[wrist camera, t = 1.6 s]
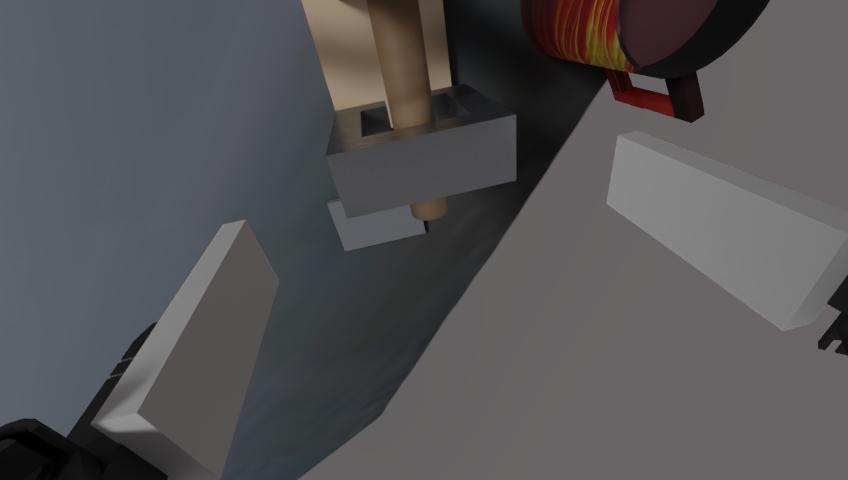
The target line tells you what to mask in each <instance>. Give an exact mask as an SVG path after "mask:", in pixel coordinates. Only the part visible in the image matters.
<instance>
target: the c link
mask: <svg viewBox="0 0 848 480" xmlns="http://www.w3.org/2000/svg"><path fill="white" fill-rule="evenodd" d="M431 94H432V101H433V109H434V116H435V121H434V122H430V123H425V124H420V125H416V126H411V127H407V128H402V129H397V130H393V131H392V129H391V125H390V120H389V115H388V111H387V106H386V103H385V100H384V101H380V102H375V103H370V104H365V105H361V106H356V107H351V108H347V109H342V110H337V111H336V112H335V116H334V121H333V125H332V129H331V134H330V138H329V143H328V147H327V151H326V159H327V162H328V165H329V168H330V171H331V174H332V177H333V179H334V182H335V185H336V188H337V191H338V194H339V197H340V199H341V202H342V205H343V208H344V211H345V214H346V217H347V219H349V218H353V217H358V216H362V215H367V214H371V213H375V212H380V211H384V210H388V209H393V208H397V207H402V206H406V205H410V204H415V203H419V202H424V201H428V200H432V199H437V198H441V197H445V196H450V195H454V194H459V193H463V192H467V191H472V190H476V189H481V188H485V187H489V186H494V185H498V184H502V183H507V182H511V181H516V114H515V113H513V112H511V111H510V110H508V109H506V108H505V107H503V106H501V105H500V104H498V103H496V102H495V101H493V100H491V99H490V98H488V97H486V96H485V95H483V94H481V93H480V92H478V91H476V90H475V89H473V88H471V87H470V86H468V85H466V84H465V83H464V84H460V85H455V86H450V87H445V88H441V89H436V90H431Z"/></svg>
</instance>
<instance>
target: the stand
mask: <svg viewBox="0 0 848 480" xmlns="http://www.w3.org/2000/svg"><path fill="white" fill-rule="evenodd" d="M302 3H303V7H304V10H305V13H306V17H307V20H308V23H309V26H310V30H311V33H312V36H313V39H314V43H315V46H316V49H317V53H318V56H319V59H320V62H321V66H322V69H323V72H324V75H325V79H326V82H327V85H328V89H329V92H330V95H331V98H332V102H333V105H334V108H335V111H337V110H342V109H347V108H351V107H356V106H361V105H365V104H370V103H375V102H380V101H384V100H385V103H386V106H387V111H388V115H389V120H390V125H391V128H394V130H397V129H402V128H407V127H411V126H416V125H420V124H425V123H430V122H434V121H435V116H434V109H433V101H432V94H431V90H436V89H441V88H445V87H450V86H452V84H451V75H450V65H449V56H448V46H447V37H446V27H445V18H444V9H443V0H302ZM410 207H411V212H412V216H413V217H414V218H415V219H418V220H423V221H427V220H434V219H437V218H439V217H441V216H443V215H444V214H445V213H446V212H447V201H446V196H445V197H441V198H437V199H432V200H428V201H424V202H419V203H415V204H410Z"/></svg>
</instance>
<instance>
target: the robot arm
mask: <svg viewBox="0 0 848 480" xmlns="http://www.w3.org/2000/svg"><path fill="white" fill-rule="evenodd" d="M607 204H608V205H609V206H610V207H612V208H613V209H615V210H616V211H617V212H619V213H620V214H622V215H623V216H624V217H626V218H627V219H628V220H630V221H631V222H633V223H634V224H636V225H637V226H638V227H640V228H641V229H643V230H644V231H645V232H646V233H648V234H649V235H651V236H652V237H653V238H655V239H656V240H658V241H659V242H660V243H662V244H663V245H665V246H666V247H667V248H669V249H670V250H671V251H673V252H674V253H676V254H677V255H678V256H680V257H681V258H683V259H684V260H685V261H687V262H688V263H689V264H691V265H692V266H694V267H695V268H696V269H698V270H699V271H701V272H702V273H703V274H705V275H706V276H707V277H709V278H710V279H712V280H713V281H715V282H716V283H717V284H718V285H720V286H721V287H723V288H724V289H726V290H727V291H728V292H730V293H731V294H733V295H734V296H735V297H737V298H738V299H739V300H741V301H742V302H744V303H745V304H746V305H748V306H749V307H750V308H752V309H753V310H754V311H756V312H757V313H759V314H760V315H761V316H763V317H764V318H766V319H767V320H768V321H770V322H771V323H773V324H774V325H775V326H777V327H778V328H779V329H781V330H782V331H786V330H789V329H793V328H797V327H800V326H805V325H808V324H812V323H814V321H815V320H816V319H817V317H818V316H819V315H820V313H821V312H822V311H823V309H824V308H825V307H826V305H827V304H829V305H831V306H832V307H834V308H835V309H837V310H839V311H840V312H841V314H840V315H839V316H838V317H837V319H836V320H835V321H834V323H833V324H832V325H831V326H830V327H829V329H828V330H827V331H826V333H825V334H824V335H823V336H822V338H821V339H820V340H819V341H818V349H823V350H825V349H826V348H827V347H828V346H829V345H830V343H831V342H832V341H833V340H841V341H842V343H841V344H840V345H839V346H838V348H837V349H836V350H835V352H836V353H840V354H844V355H848V211H847V210H845V209H842V208H839V207H837V206H835V205H832V204H829V203H827V202H824V201H821V200H819V199H816V198H814V197H811V196H808V195H806V194H803V193H800V192H798V191H795V190H792V189H790V188H787V187H785V186H782V185H780V184H777V183H774V182H772V181H769V180H766V179H764V178H761V177H758V176H756V175H753V174H751V173H748V172H745V171H743V170H740V169H737V168H735V167H732V166H730V165H727V164H725V163H722V162H719V161H717V160H714V159H711V158H709V157H706V156H704V155H701V154H698V153H696V152H693V151H690V150H688V149H685V148H682V147H680V146H677V145H674V144H672V143H669V142H667V141H664V140H661V139H659V138H656V137H654V136H651V135H648V134H646V133H643V132H641V131H635V132H630V133H626V134H621V135H618V138H617V144H616V150H615V156H614V162H613V168H612V174H611V180H610V186H609V191H608V198H607ZM278 284H279V279H278V277H277V275H276V274H275V272H274V270H273V268H272V266H271V265H270V263H269V261H268V259H267V257H266V256H265V254H264V252H263V250H262V248H261V246H260V245H259V243H258V241H257V239H256V237H255V236H254V234H253V232H252V230H251V228H250V226H249V225H248V223H247V221H246V220H241V221H237V222H233V223H228V224H224V225H222V226H221V228H220V229H219V231H218V233H217V234H216V236H215V237H214V239H213V240H212V242H211V243H210V245H209V246H208V248H207V249H206V251H205V252H204V254H203V255H202V257H201V258H200V260H199V261H198V263H197V264H196V266H195V267H194V269H193V270H192V272H191V273H190V275H189V276H188V278H187V279H186V281H185V282H184V284H183V285H182V287H181V288H180V290H179V291H178V293H177V294H176V296H175V297H174V299H173V300H172V302H171V303H170V305H169V306H168V308H167V309H166V311H165V312H164V314H163V315H162V317H161V318H160V320H159V321H158V322H156V323H153V324H152V325H151V326H150V327H148V328H147V329H146V330H145V331H144V332H143V333H142V334H141V335H140V336H139V337H138V338H137V339H136V340H134V342H133V343H132V344H131V346H130V347H129V349H128V350H127V352H126V353H125V354H124V356H123V357H122V359H121V360H122V362H121V363H118V364H117V366H116V367H115V369H114V370H113V372H112V373H111V374H110V377H111V378H110V379H107V380H106V382H105V383H104V384H103V386H102V387H101V389H100V390H99V392H98V393H97V394H96V396H95V397H94V399H93V400H92V402H91V403H90V404H89V406H88V407H87V409H86V410H85V412H84V413H83V414H82V416H81V417H80V419H79V420H78V422H77V423H76V424H75V426H74V427H73V429H72V430H71V432H70V433H69V434H68V436H67V437H66V438H65V437H64V436H62V435H61V434H59V433H57V432H56V431H54V430H52V429H51V428H49V427H48V426H46V425H44V424H43V423H41V422H39V421H38V420H36V419H21V420H17V421H14V422H11V423H8V424H5V425H4V426H2V427H0V480H167V478H169V479H171V480H219V479H220V478H221V475H222V472H223V468H224V465H225V462H226V458H227V455H228V452H229V448H230V445H231V442H232V438H233V435H234V432H235V428H236V425H237V421H238V418H239V415H240V411H241V408H242V405H243V401H244V398H245V395H246V391H247V388H248V385H249V381H250V378H251V375H252V371H253V368H254V365H255V361H256V358H257V355H258V351H259V348H260V344H261V341H262V338H263V334H264V331H265V328H266V324H267V321H268V318H269V314H270V311H271V308H272V304H273V301H274V298H275V294H276V291H277V288H278Z"/></svg>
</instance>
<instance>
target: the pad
mask: <svg viewBox="0 0 848 480" xmlns="http://www.w3.org/2000/svg"><path fill="white" fill-rule="evenodd" d="M327 205H328V207H329V210H330V212H331V215H332V218H333V220H334V223H335V226H336V228H337V231H338V234H339V236H340V239H341V242H342V244H343V247H344V249H345V251H350V250H354V249H358V248H363V247H367V246H371V245H375V244H380V243H384V242H388V241H393V240H397V239H401V238H406V237H410V236H414V235H419V234H423V233H426V232H425V227H424V222H423V220H418V219H415V218H414V217H413V216H412V212H411V207H410V205H406V206H402V207H397V208H393V209H388V210H384V211H380V212H375V213H371V214H367V215H362V216H358V217H353V218H349V219H347V217H346V214H345V211H344V208H343V205H342V202H341V199H340V198H339V199H334V200H330V201H328V202H327Z"/></svg>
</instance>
